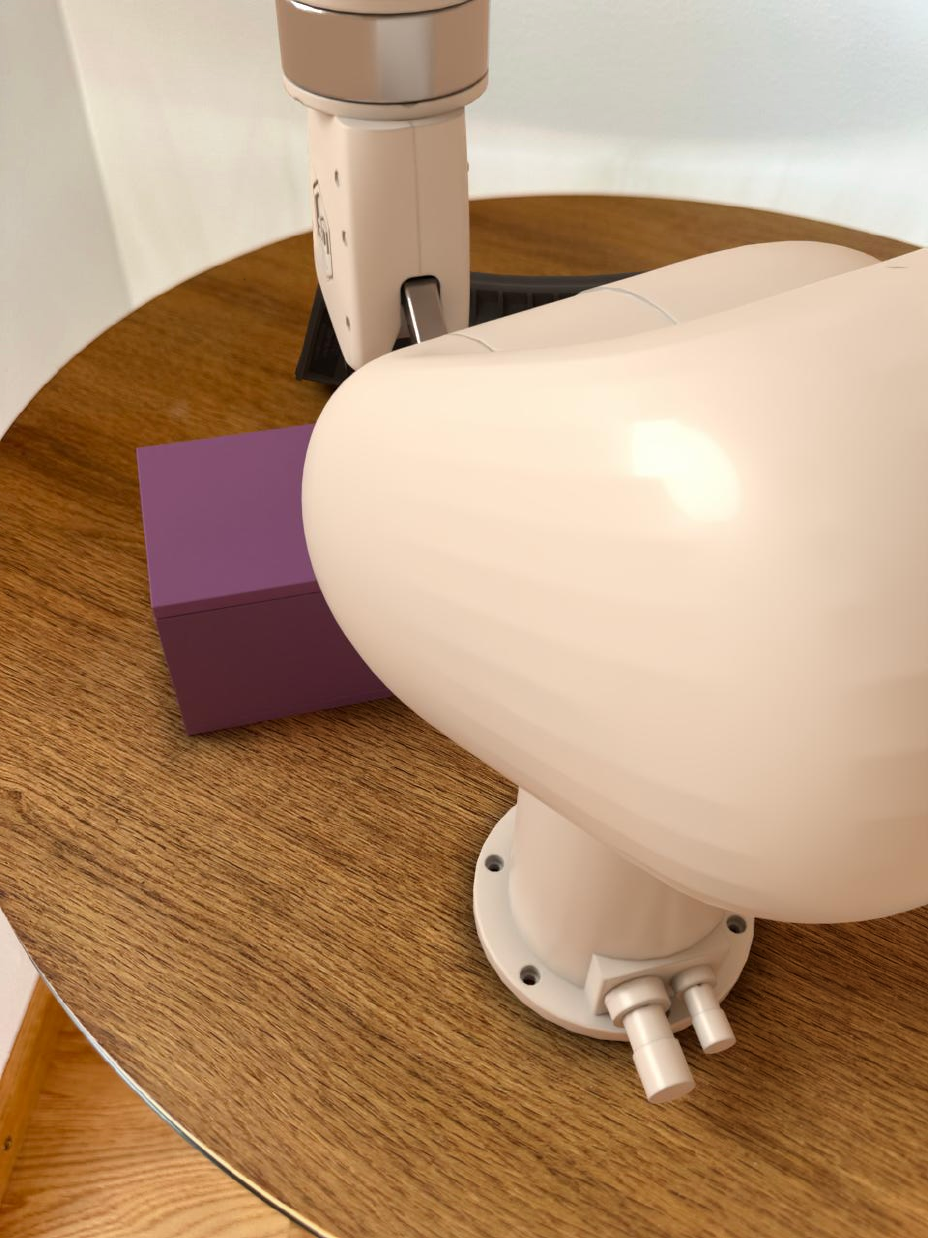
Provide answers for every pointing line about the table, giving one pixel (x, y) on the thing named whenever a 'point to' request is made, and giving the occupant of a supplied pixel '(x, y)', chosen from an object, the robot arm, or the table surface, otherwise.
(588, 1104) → the table surface
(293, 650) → the box
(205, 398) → the table surface
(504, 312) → the magazine
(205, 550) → the lid
